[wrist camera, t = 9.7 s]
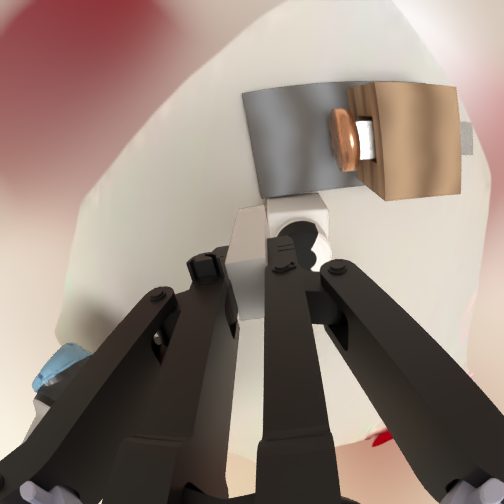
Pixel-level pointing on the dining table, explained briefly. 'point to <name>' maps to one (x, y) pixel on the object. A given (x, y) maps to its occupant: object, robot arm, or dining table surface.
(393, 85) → the bearing block
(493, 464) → the robot arm
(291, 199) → the medicine bottle
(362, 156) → the shaft
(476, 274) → the dining table surface
